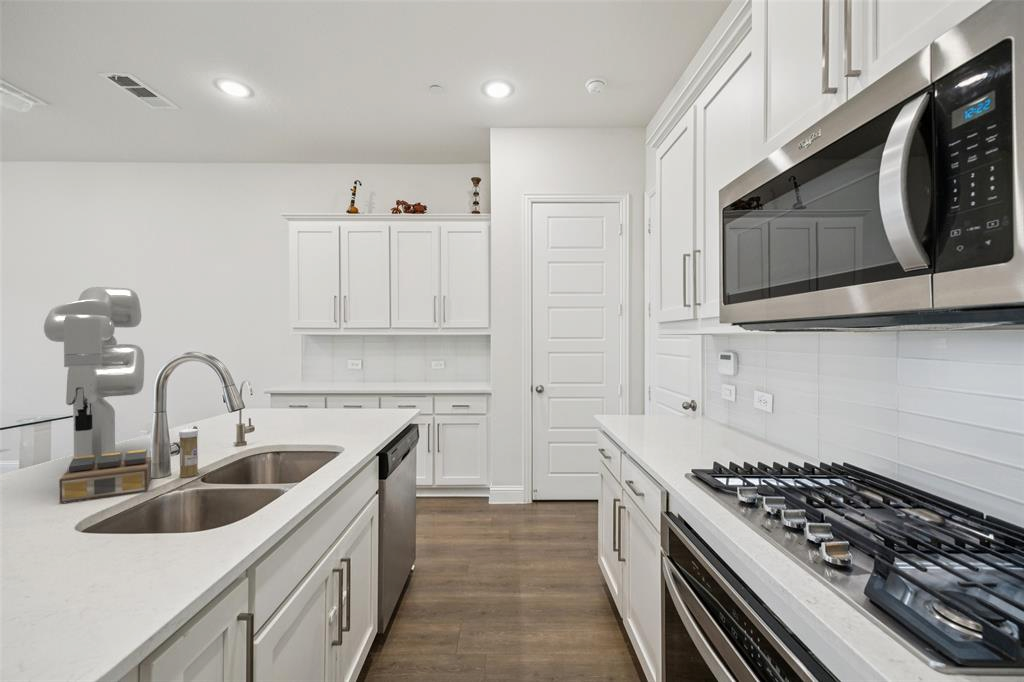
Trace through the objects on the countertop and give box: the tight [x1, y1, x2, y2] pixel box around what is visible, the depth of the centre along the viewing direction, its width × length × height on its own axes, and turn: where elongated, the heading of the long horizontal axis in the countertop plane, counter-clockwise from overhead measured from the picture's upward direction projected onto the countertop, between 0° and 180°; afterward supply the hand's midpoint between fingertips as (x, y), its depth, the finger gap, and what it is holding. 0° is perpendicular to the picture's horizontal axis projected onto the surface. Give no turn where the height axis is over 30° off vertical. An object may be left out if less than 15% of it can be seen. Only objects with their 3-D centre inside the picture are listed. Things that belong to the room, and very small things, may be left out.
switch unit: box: [58, 456, 152, 504], centre depth 127 cm, size 14×17×6 cm
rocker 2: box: [97, 451, 123, 468], centre depth 128 cm, size 6×4×2 cm
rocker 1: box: [68, 455, 96, 472], centre depth 125 cm, size 6×4×2 cm
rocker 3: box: [123, 449, 148, 465], centre depth 131 cm, size 6×4×2 cm
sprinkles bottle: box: [178, 428, 199, 478], centre depth 140 cm, size 5×5×14 cm
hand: (84, 429), depth 127 cm, fingers closed
